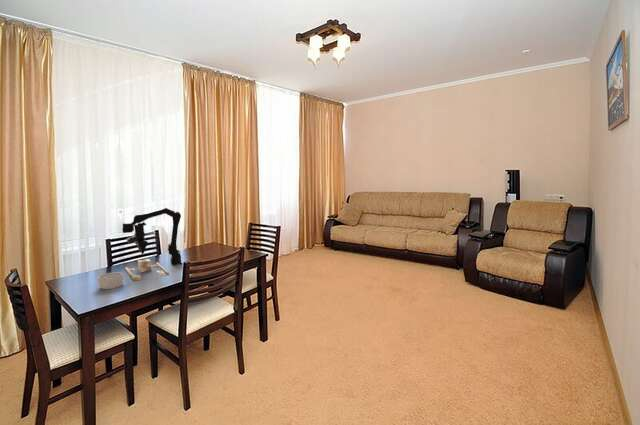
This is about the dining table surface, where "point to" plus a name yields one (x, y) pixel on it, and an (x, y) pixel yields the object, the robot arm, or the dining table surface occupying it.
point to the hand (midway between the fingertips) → (141, 252)
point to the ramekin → (110, 280)
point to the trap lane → (161, 273)
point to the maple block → (144, 265)
